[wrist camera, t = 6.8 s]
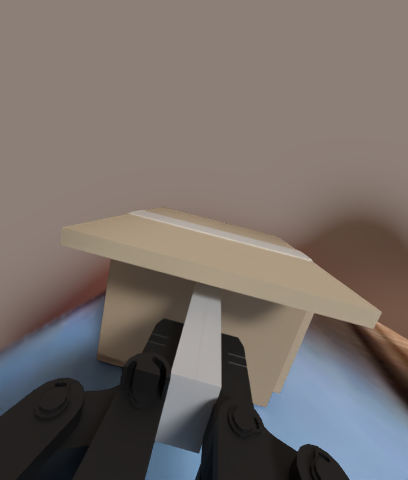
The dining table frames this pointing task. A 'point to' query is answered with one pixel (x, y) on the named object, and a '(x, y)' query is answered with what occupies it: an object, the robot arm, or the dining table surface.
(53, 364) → the dining table surface
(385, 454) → the dining table surface
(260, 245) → the flap
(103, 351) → the carton
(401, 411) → the dining table surface
